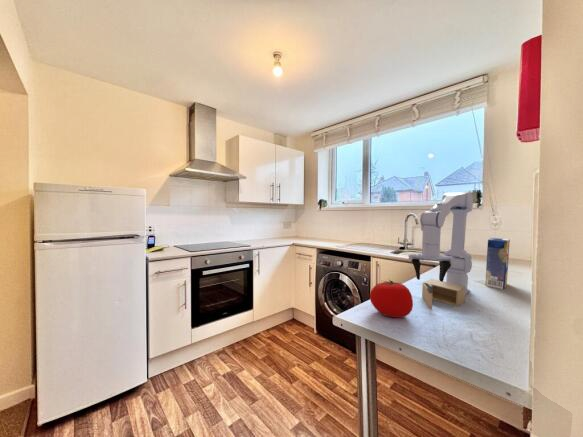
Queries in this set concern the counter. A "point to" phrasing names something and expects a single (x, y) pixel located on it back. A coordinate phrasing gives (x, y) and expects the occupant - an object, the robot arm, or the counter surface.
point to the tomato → (392, 299)
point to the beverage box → (497, 262)
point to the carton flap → (427, 294)
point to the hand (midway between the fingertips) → (429, 279)
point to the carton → (447, 292)
